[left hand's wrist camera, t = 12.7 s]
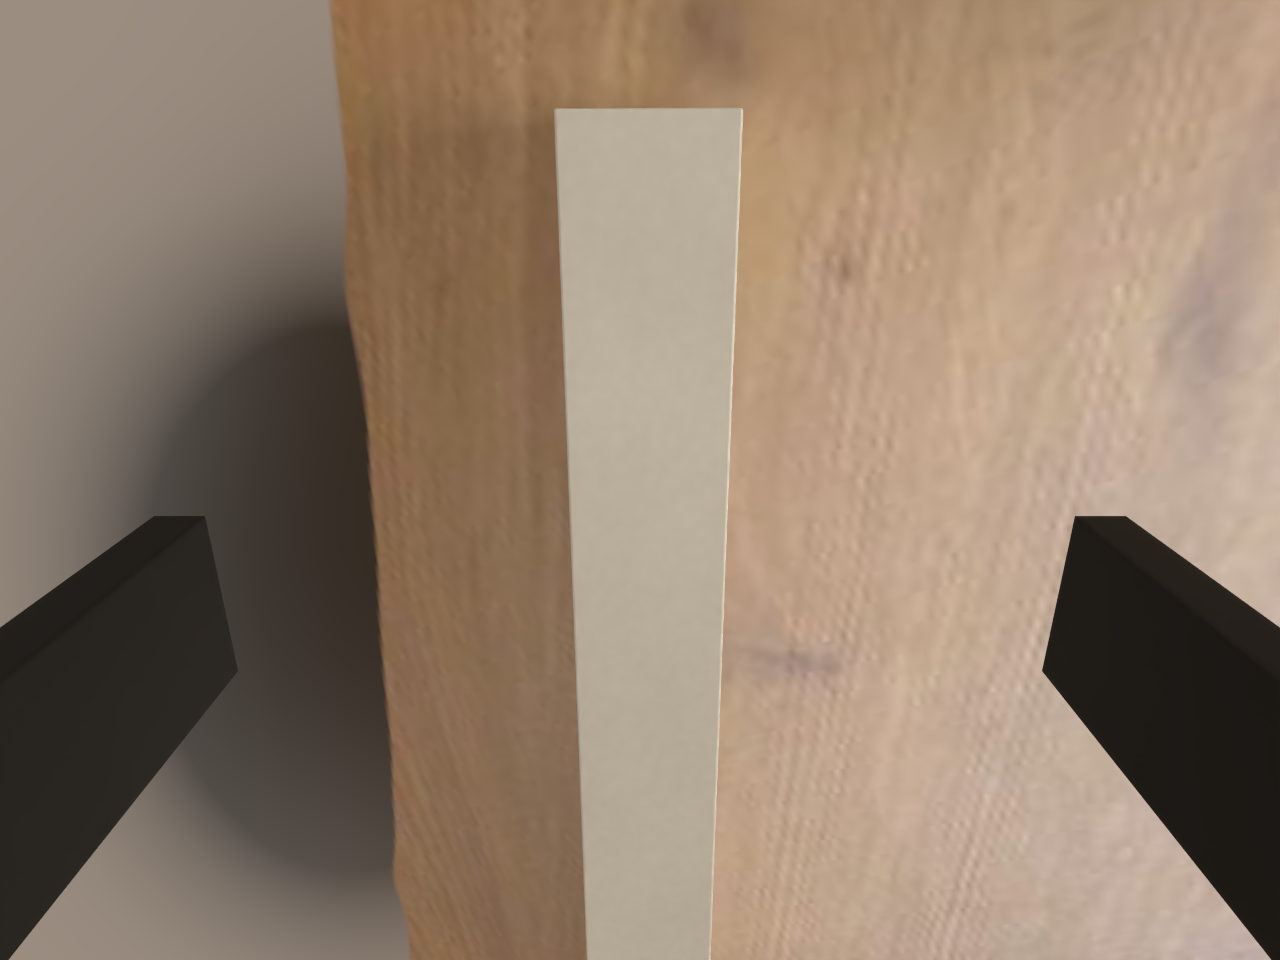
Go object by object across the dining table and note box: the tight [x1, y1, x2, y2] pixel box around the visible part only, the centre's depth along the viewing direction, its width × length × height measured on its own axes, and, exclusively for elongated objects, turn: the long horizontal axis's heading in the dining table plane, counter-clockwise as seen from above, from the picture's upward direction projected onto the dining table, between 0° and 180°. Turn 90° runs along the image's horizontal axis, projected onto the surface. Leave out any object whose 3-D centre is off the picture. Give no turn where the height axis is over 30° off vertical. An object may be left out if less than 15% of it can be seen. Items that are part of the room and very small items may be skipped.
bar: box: [554, 108, 743, 960], centre depth 38 cm, size 55×6×8 cm, turn 0°
